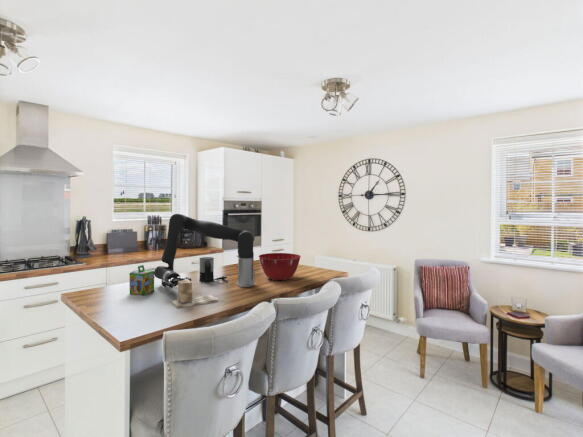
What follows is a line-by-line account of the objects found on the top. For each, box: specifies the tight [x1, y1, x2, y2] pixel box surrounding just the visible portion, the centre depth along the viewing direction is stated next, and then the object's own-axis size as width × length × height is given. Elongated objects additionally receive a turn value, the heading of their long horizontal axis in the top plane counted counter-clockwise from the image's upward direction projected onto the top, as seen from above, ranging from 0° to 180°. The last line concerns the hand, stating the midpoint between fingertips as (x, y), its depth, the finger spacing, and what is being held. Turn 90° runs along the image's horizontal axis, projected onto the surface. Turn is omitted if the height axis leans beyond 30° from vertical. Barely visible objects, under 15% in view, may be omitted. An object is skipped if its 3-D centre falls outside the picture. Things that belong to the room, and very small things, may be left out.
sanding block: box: [177, 280, 193, 304], centre depth 150 cm, size 5×6×10 cm
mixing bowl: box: [258, 252, 302, 281], centre depth 208 cm, size 28×28×16 cm
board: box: [171, 294, 219, 309], centre depth 154 cm, size 20×9×1 cm, turn 126°
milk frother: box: [198, 256, 228, 283], centre depth 196 cm, size 14×16×15 cm
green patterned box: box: [129, 264, 155, 296], centre depth 167 cm, size 9×9×15 cm
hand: (180, 284), depth 157 cm, fingers open, 8 cm apart
